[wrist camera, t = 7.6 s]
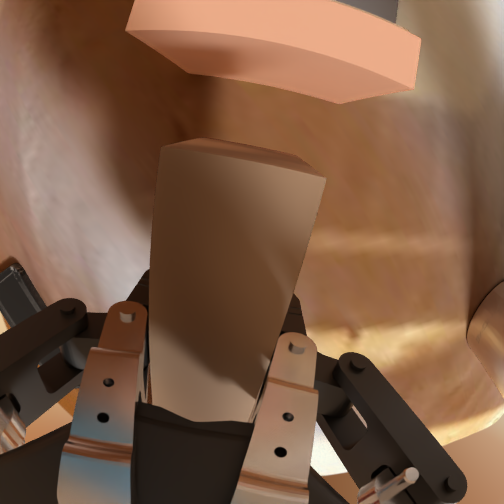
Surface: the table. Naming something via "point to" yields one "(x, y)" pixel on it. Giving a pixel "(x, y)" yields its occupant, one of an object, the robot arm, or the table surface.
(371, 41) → the tile
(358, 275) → the table surface
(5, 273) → the phone
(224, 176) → the bar
